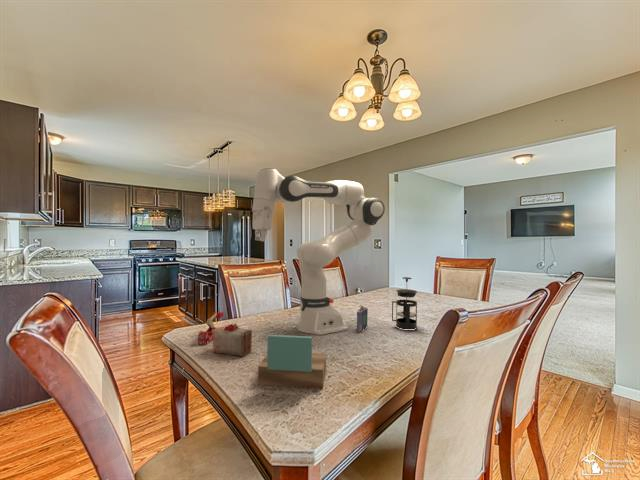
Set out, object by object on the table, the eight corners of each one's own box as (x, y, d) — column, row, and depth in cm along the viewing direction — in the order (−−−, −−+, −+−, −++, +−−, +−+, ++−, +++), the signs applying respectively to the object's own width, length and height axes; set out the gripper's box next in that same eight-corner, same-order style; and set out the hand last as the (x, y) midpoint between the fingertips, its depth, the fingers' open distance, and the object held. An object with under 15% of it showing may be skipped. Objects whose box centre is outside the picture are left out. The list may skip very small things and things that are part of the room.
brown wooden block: (268, 367, 93) (269, 351, 93) (326, 370, 91) (326, 353, 91) (258, 384, 82) (258, 366, 82) (322, 388, 80) (323, 369, 80)
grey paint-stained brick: (208, 353, 103) (208, 325, 103) (222, 345, 110) (222, 319, 110) (242, 359, 99) (242, 329, 99) (254, 350, 106) (254, 323, 106)
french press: (416, 325, 138) (417, 276, 138) (420, 331, 129) (421, 279, 129) (391, 324, 140) (391, 275, 140) (392, 330, 131) (393, 278, 131)
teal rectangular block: (268, 367, 81) (268, 334, 81) (311, 369, 80) (312, 336, 80) (267, 369, 80) (267, 336, 80) (311, 371, 79) (311, 338, 78)
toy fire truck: (196, 345, 111) (196, 319, 111) (216, 333, 124) (216, 310, 124) (204, 345, 110) (204, 320, 110) (223, 334, 124) (223, 311, 123)
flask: (361, 333, 127) (361, 308, 127) (354, 331, 128) (354, 307, 128) (368, 327, 135) (368, 304, 135) (362, 326, 136) (362, 303, 136)
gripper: (277, 207, 114) (273, 242, 113) (265, 210, 132) (261, 240, 132) (261, 204, 111) (257, 241, 111) (251, 207, 130) (247, 239, 130)
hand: (259, 240), depth 122 cm, fingers open, 8 cm apart
